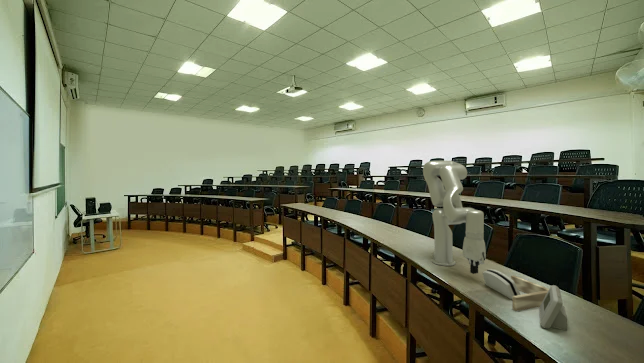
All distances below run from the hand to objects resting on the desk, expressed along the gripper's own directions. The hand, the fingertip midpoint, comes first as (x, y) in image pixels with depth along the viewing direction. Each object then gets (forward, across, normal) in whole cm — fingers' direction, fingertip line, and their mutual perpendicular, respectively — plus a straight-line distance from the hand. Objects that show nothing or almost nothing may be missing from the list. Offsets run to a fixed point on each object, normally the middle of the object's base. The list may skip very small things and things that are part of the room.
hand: (474, 272), depth 133 cm
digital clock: (+3, +38, -4) cm, 38 cm away
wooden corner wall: (+3, +22, +1) cm, 22 cm away
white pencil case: (+3, +15, 0) cm, 15 cm away
